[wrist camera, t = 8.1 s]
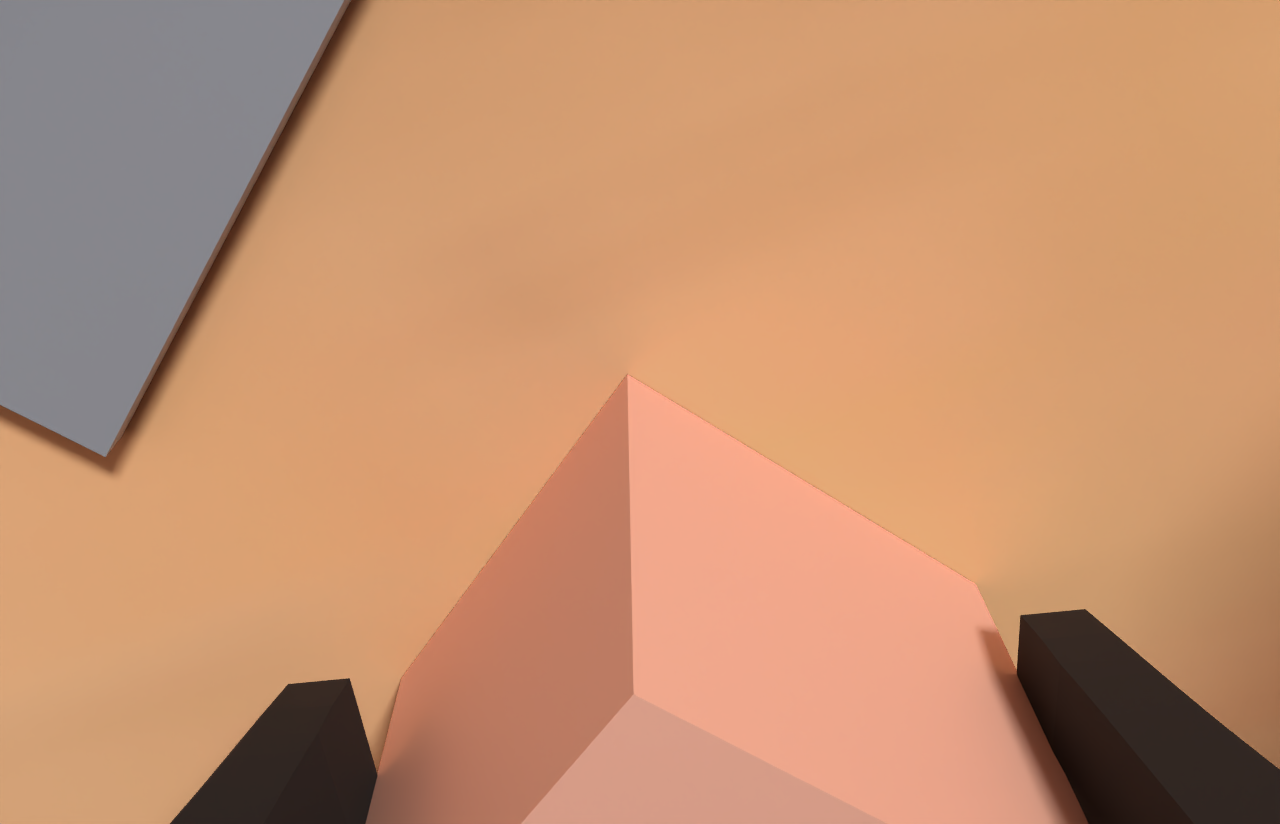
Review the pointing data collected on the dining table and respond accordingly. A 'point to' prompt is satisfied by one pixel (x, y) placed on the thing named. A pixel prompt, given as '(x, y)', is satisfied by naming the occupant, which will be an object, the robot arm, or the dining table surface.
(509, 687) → the terracotta block
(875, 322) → the dining table surface
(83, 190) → the board
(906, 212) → the dining table surface
